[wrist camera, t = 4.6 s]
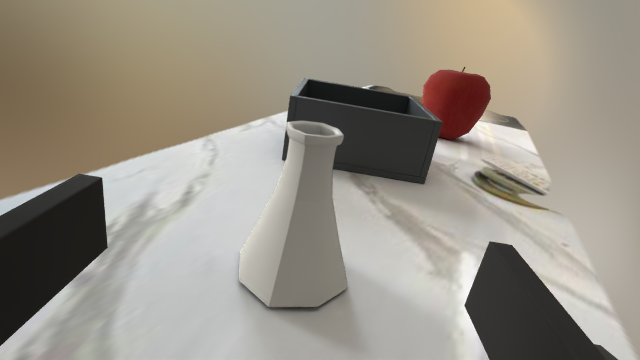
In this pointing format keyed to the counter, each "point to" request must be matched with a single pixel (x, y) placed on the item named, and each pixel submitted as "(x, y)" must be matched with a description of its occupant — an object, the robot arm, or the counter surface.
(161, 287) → the counter surface
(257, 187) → the counter surface
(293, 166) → the flask
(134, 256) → the counter surface
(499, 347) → the robot arm
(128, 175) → the counter surface
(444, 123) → the apple
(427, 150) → the storage bin
